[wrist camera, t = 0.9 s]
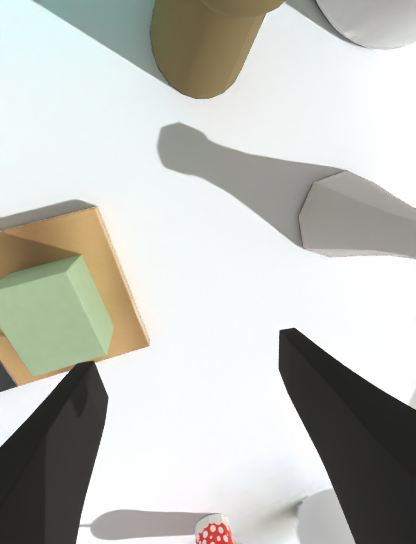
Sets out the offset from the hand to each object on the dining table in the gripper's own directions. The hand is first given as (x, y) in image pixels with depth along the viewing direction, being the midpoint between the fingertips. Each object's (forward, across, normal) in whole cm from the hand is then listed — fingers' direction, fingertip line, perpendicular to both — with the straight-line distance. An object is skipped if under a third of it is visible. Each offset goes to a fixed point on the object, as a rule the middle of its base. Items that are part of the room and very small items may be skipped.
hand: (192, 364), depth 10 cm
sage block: (+10, +9, +2) cm, 14 cm away
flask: (+13, -13, -1) cm, 19 cm away
